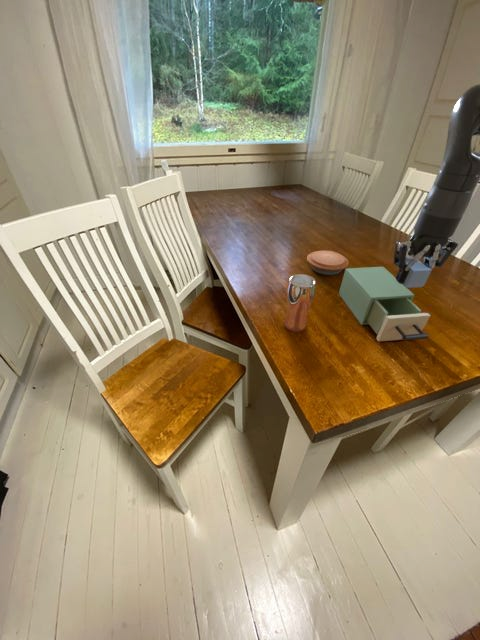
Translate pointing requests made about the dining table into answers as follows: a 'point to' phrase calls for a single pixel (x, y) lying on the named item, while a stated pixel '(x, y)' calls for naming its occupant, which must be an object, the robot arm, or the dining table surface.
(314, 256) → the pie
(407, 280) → the block
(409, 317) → the drawer
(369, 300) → the cabinet
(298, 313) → the metal cup
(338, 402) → the dining table surface
